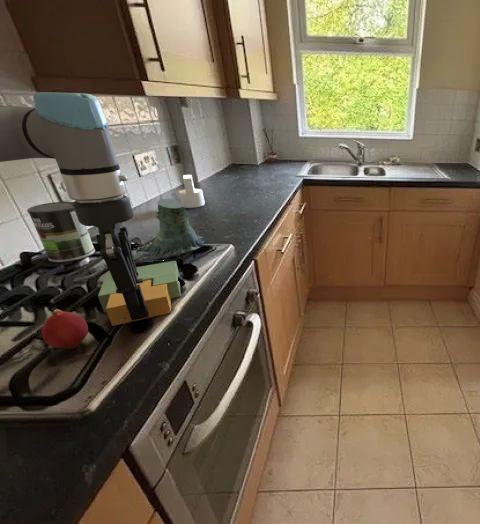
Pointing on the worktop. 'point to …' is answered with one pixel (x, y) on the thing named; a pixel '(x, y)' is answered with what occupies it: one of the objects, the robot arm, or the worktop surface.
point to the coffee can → (61, 232)
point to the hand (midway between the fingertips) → (140, 316)
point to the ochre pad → (154, 299)
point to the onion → (64, 330)
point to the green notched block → (155, 273)
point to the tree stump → (171, 235)
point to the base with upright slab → (191, 194)
